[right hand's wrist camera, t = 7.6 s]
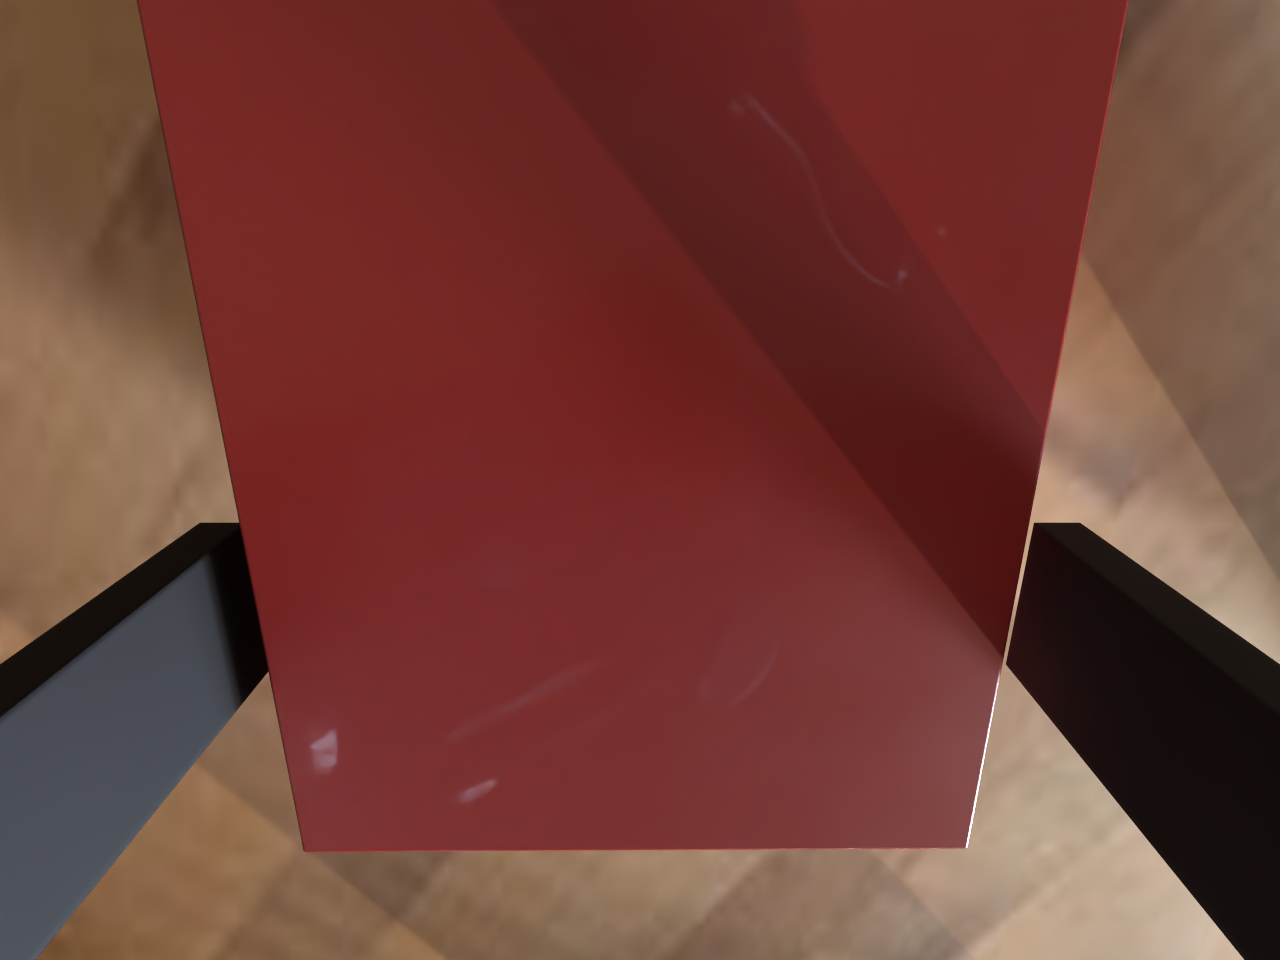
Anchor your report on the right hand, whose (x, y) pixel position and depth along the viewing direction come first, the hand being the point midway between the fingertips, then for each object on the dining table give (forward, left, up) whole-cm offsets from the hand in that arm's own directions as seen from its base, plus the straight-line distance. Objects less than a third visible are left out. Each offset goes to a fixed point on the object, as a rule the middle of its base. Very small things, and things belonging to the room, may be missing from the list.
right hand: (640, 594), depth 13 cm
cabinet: (+4, -2, -11) cm, 11 cm away
